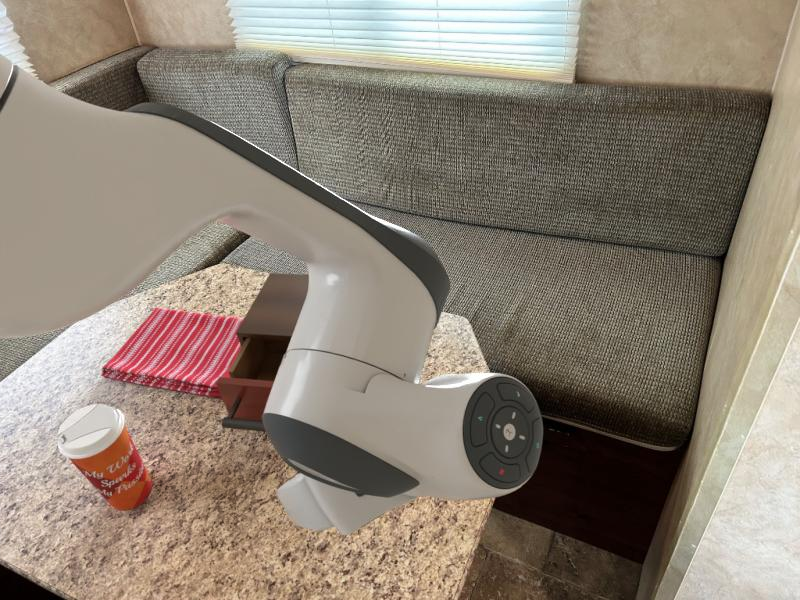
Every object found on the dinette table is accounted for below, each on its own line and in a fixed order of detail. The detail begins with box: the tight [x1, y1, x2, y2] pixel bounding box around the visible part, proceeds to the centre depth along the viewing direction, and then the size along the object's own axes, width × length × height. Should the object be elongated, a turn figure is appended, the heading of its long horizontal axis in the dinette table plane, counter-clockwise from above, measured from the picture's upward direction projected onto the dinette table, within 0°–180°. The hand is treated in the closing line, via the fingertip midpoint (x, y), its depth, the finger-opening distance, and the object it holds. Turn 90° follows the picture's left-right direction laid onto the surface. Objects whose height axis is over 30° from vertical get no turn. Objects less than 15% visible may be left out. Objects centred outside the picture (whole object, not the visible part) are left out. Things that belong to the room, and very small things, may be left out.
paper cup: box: [57, 403, 153, 511], centre depth 77 cm, size 8×8×14 cm
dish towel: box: [100, 307, 245, 400], centre depth 100 cm, size 17×24×3 cm
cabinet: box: [236, 272, 309, 347], centre depth 97 cm, size 15×13×10 cm
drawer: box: [216, 337, 290, 433], centre depth 87 cm, size 18×11×8 cm, turn 169°
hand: (352, 446), depth 64 cm, fingers closed on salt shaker, 3 cm apart
